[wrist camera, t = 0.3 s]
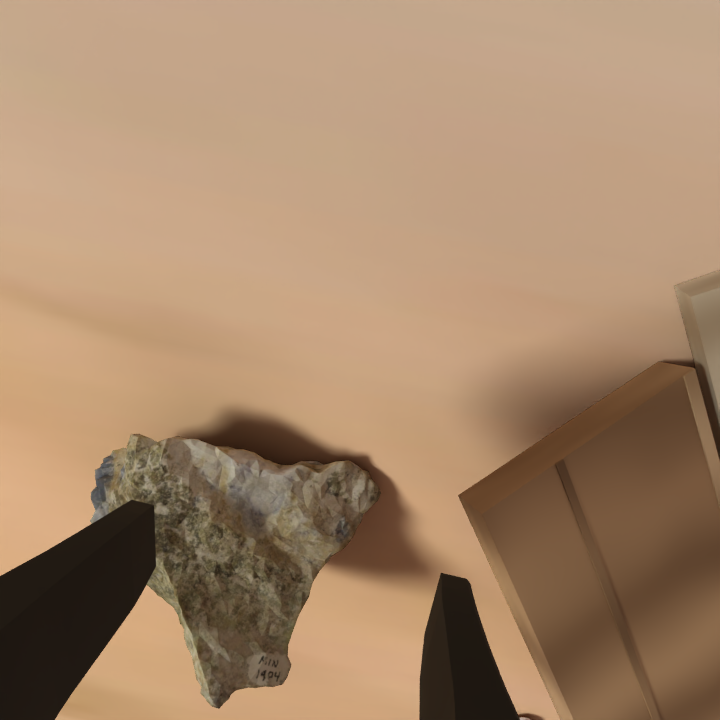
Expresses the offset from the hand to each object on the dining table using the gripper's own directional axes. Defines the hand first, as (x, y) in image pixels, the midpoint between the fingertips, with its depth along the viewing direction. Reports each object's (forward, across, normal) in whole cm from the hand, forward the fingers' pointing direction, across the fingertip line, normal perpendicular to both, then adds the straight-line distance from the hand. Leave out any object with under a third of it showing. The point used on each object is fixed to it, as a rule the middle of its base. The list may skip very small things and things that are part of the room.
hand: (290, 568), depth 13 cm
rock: (+10, +5, +5) cm, 12 cm away
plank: (+7, -11, +5) cm, 14 cm away
